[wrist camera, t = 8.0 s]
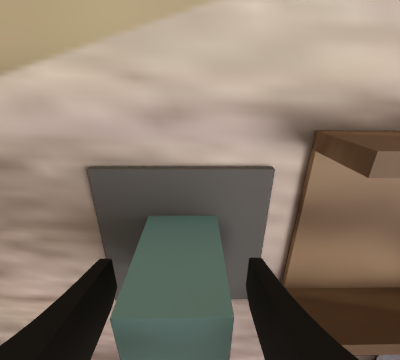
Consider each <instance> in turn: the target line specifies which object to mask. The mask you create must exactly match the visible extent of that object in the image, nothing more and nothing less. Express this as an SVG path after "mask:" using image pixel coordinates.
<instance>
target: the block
mask: <svg viewBox="0 0 400 360" xmlns="http://www.w3.org/2000/svg"><path fill="white" fill-rule="evenodd" d="M110 321H111V325H112V329H113V333H114V337H115V341H116V345H117V349H118V353H119V357H120V360H229V359H230V350H231V340H232V331H233V322H234V314H233V308H232V303H231V297H230V291H229V285H228V279H227V273H226V267H225V261H224V255H223V249H222V243H221V237H220V231H219V225H218V219H217V216H148V219H147V221H146V224H145V227H144V229H143V232H142V235H141V237H140V240H139V243H138V245H137V248H136V251H135V253H134V256H133V259H132V261H131V264H130V267H129V269H128V272H127V275H126V277H125V280H124V283H123V285H122V288H121V291H120V293H119V296H118V299H117V301H116V304H115V307H114V309H113V312H112V315H111V317H110Z"/></svg>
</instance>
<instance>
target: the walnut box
mask: <svg viewBox="0 0 400 360" xmlns="http://www.w3.org/2000/svg"><path fill="white" fill-rule="evenodd" d="M282 285H283V286H284V287H285V288H286V290H287V291H288V292H289V293H290V294H291V295H292V297H293V298H294V299H295V300H296V301H297V302H298V303H299V304H300V305H301V307H302V308H303V309H304V310H305V311H306V312H307V313H308V314H309V315H310V316H311V317H312V318H313V319H314V320H315V321H316V322H317V323H318V324H319V325H320V326H321V327H322V328H323V329H324V330H325V331H326V332H327V333H328V334H330V335H331V336H332V337H333V338H334V339H335V340H336V341H337V342H338V343H339V344H341V345H342V346H343V347H344V348H345V349H347V350H348V351H349V352H350V353H351V354H352V355H400V131H316V133H315V138H314V142H313V147H312V151H311V156H310V160H309V165H308V169H307V174H306V178H305V182H304V187H303V191H302V196H301V200H300V205H299V209H298V214H297V218H296V223H295V227H294V232H293V236H292V240H291V245H290V249H289V254H288V258H287V263H286V267H285V272H284V276H283V281H282Z"/></svg>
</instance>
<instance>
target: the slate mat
mask: <svg viewBox="0 0 400 360" xmlns="http://www.w3.org/2000/svg"><path fill="white" fill-rule="evenodd" d="M274 171H275V169H274V168H273V167H89V168H88V169H87V174H88V178H89V183H90V187H91V192H92V196H93V201H94V205H95V210H96V214H97V219H98V224H99V228H100V233H101V237H102V242H103V246H104V251H105V255H106V259H112V263H113V267H114V272H115V277H116V282H117V291H116V295H115V300H117V299H118V296H119V293H120V291H121V288H122V285H123V283H124V280H125V277H126V275H127V272H128V269H129V267H130V264H131V261H132V259H133V256H134V253H135V251H136V248H137V245H138V243H139V240H140V237H141V235H142V232H143V229H144V227H145V224H146V221H147V219H148V216H217V219H218V225H219V231H220V237H221V243H222V249H223V255H224V261H225V267H226V273H227V279H228V285H229V291H230V297H231V299H248V296H247V291H246V279H247V271H248V263H249V258H261V253H262V247H263V241H264V234H265V228H266V222H267V215H268V209H269V203H270V197H271V190H272V184H273V178H274Z"/></svg>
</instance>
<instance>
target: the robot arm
mask: <svg viewBox="0 0 400 360" xmlns="http://www.w3.org/2000/svg"><path fill="white" fill-rule="evenodd" d="M116 291H117V282H116V277H115V272H114V267H113V263H112V259H99V260H98V261H97V262H96V263H95V264H94V265H93V266H92V267H91V268H90V269H89V270H88V271H87V272H86V273H85V274H84V275H83V276H82V277H81V278H80V279H79V280H78V281H77V282H76V283H75V284H73V285H72V286H71V287H70V288H69V289H68V290H67V291H66V292H65V293H64V294H63V295H62V296H61V297H60V298H59V299H57V300H56V301H55V302H54V303H53V304H52V305H51V306H50V307H48V308H47V309H46V310H45V311H44V312H43V313H42V314H40V315H39V316H38V317H37V318H36V319H34V320H33V321H32V322H31V323H29V324H28V325H27V326H26V327H24V328H23V329H22V330H21V331H19V332H18V333H17V334H15V335H14V336H13V337H12V338H10V339H9V340H8V341H6V342H5V343H3V344H2V345H1V346H0V360H90V359H91V357H92V355H93V352H94V350H95V347H96V345H97V343H98V340H99V338H100V335H101V333H102V330H103V328H104V326H105V323H106V321H107V318H108V316H109V313H110V311H111V308H112V305H113V302H114V298H115V295H116ZM246 291H247V296H248V302H249V307H250V310H251V314H252V317H253V321H254V324H255V327H256V331H257V334H258V338H259V341H260V344H261V348H262V351H263V355H264V358H265V360H358V359H357V358H356V357H355V356H354V355H352V354H351V353H350V352H349V351H348V350H347V349H345V348H344V347H343V346H342V345H341V344H339V343H338V342H337V341H336V340H335V339H334V338H333V337H332V336H331V335H330V334H328V333H327V332H326V331H325V330H324V329H323V328H322V327H321V326H320V325H319V324H318V323H317V322H316V321H315V320H314V319H313V318H312V317H311V316H310V315H309V314H308V313H307V312H306V311H305V310H304V309H303V308H302V307H301V305H300V304H299V303H298V302H297V301H296V300H295V299H294V298H293V297H292V295H291V294H290V293H289V292H288V291H287V290H286V288H285V287H284V286H283V285H282V284H281V282H280V281H279V280H278V279H277V278H276V276H275V275H274V274H273V272H272V271H271V270H270V269H269V267H268V266H267V265H266V263H265V262H264V261H263V259H262V258H249V263H248V271H247V279H246ZM376 360H400V355H378V357H377V359H376Z"/></svg>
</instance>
